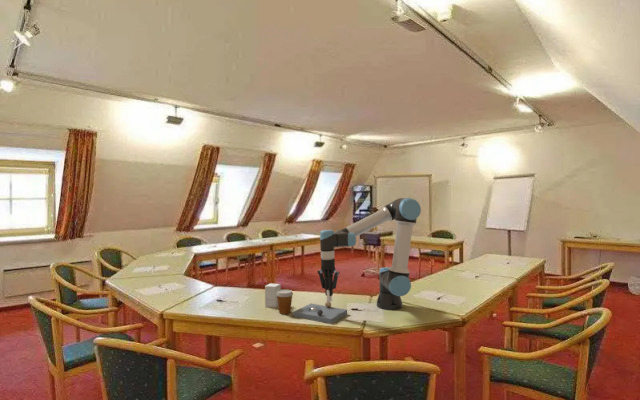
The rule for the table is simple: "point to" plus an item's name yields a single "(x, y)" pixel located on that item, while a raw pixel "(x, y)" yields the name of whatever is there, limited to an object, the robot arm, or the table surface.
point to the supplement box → (271, 295)
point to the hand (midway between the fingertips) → (329, 301)
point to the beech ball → (328, 304)
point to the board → (327, 317)
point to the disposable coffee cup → (284, 301)
